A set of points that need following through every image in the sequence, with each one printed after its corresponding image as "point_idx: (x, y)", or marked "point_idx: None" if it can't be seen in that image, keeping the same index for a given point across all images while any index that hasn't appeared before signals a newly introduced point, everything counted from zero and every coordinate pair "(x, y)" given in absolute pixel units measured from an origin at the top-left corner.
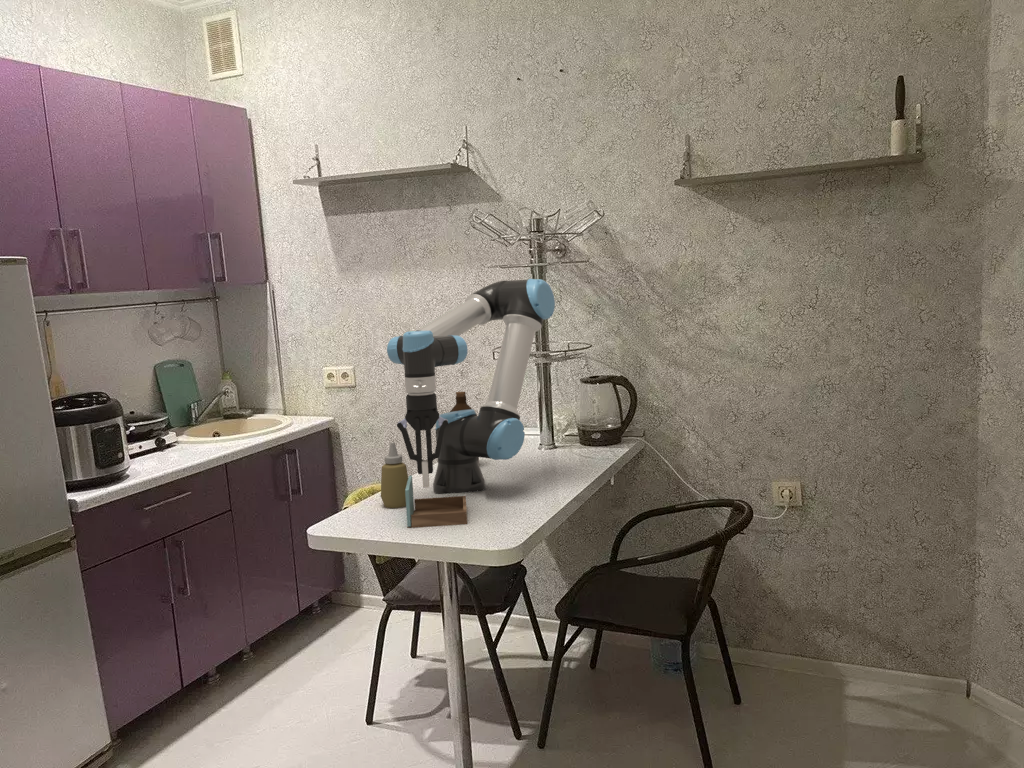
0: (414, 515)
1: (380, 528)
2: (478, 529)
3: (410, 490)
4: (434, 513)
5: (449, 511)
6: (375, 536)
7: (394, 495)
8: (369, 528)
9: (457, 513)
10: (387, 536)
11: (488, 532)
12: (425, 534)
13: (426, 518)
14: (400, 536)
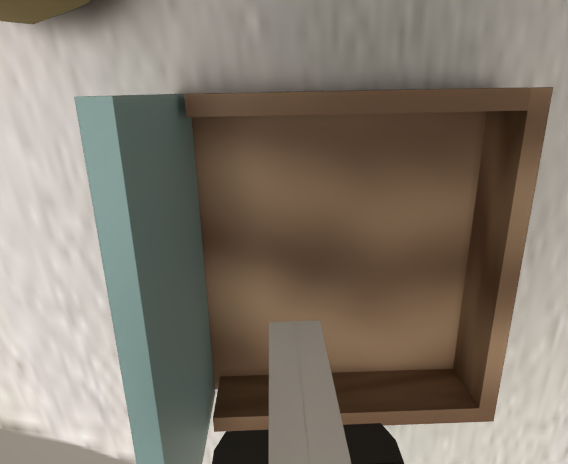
0: (230, 429)
1: (64, 311)
2: None
3: (172, 380)
4: None
5: (401, 167)
6: (74, 407)
7: (4, 15)
8: (8, 303)
9: (445, 419)
10: (126, 414)
11: (529, 427)
12: None
13: None
14: None
